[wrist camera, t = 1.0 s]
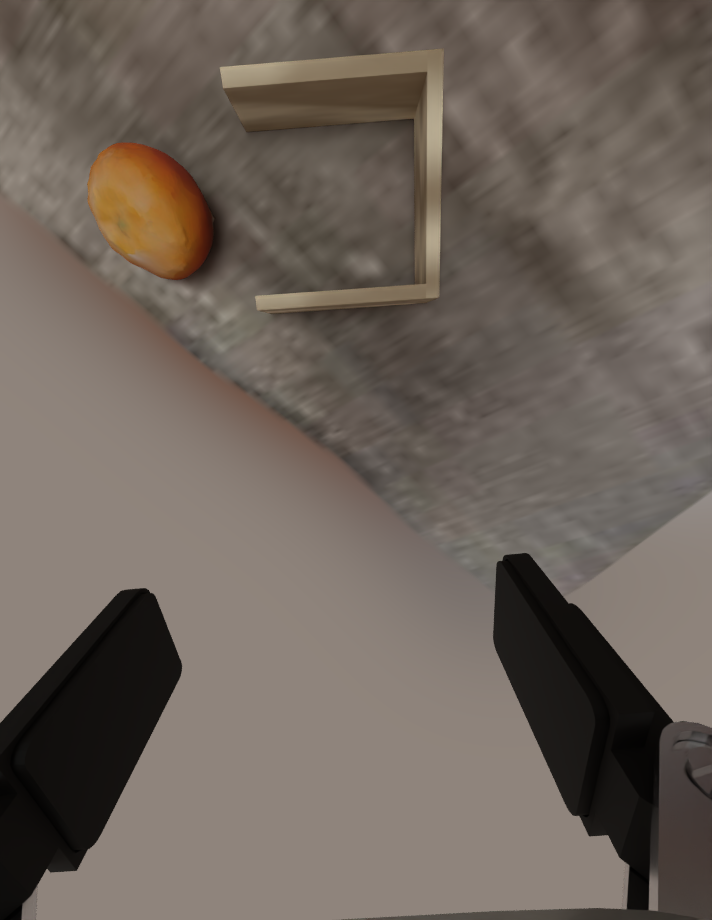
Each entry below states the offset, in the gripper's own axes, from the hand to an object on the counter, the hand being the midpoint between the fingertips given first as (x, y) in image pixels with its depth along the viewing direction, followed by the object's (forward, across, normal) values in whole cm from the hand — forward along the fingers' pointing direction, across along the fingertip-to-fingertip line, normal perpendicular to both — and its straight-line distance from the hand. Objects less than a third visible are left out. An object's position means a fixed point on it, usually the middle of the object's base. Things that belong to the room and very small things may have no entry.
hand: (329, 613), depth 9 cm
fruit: (+27, +12, -17) cm, 34 cm away
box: (+26, -2, -16) cm, 31 cm away
